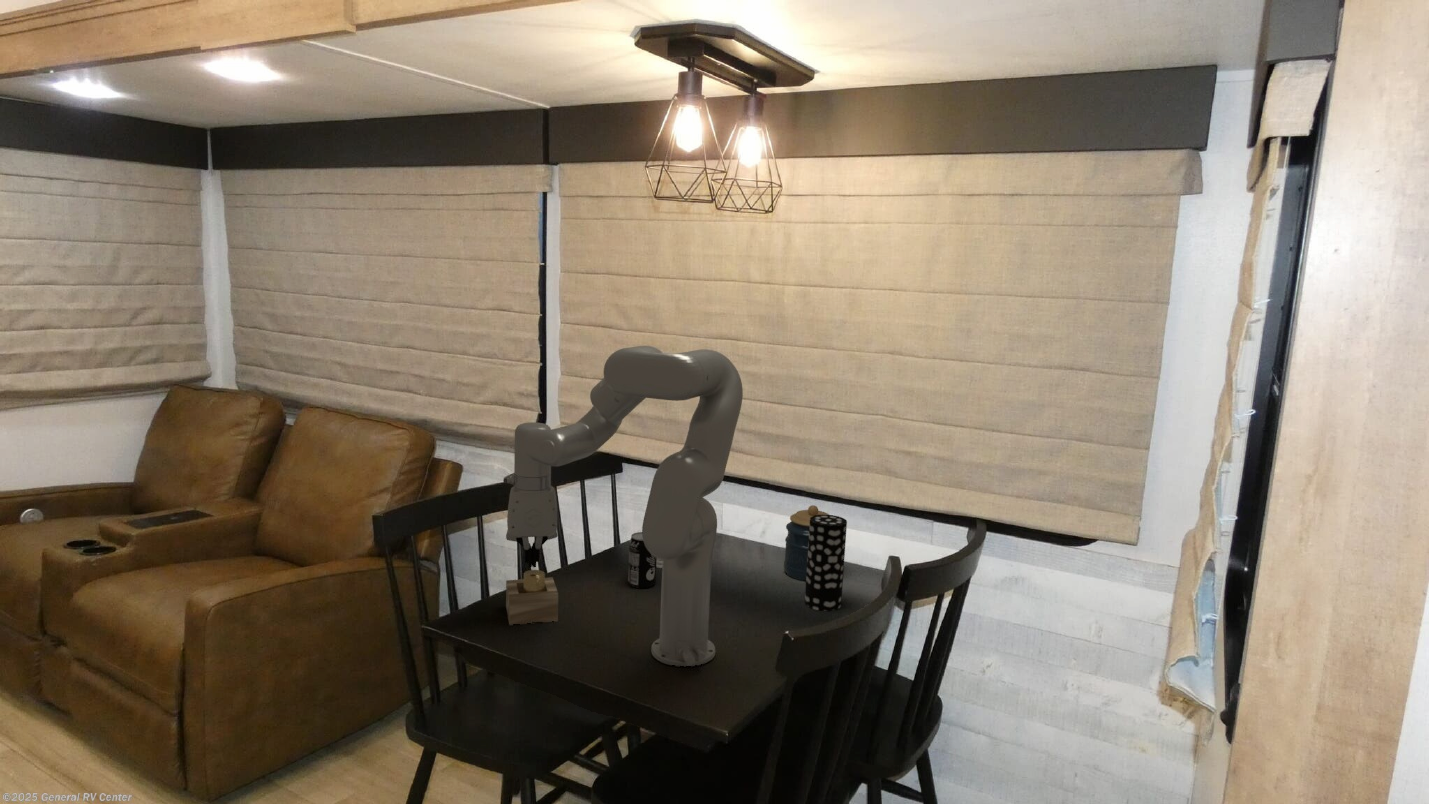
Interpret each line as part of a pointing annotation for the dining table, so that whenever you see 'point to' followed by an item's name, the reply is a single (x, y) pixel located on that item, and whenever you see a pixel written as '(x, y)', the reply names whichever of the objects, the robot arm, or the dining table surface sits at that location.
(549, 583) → the frame
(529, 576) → the banded brass cylinder
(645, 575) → the beverage can
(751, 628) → the dining table surface
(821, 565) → the white-spotted black cylinder
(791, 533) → the canister
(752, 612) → the dining table surface
